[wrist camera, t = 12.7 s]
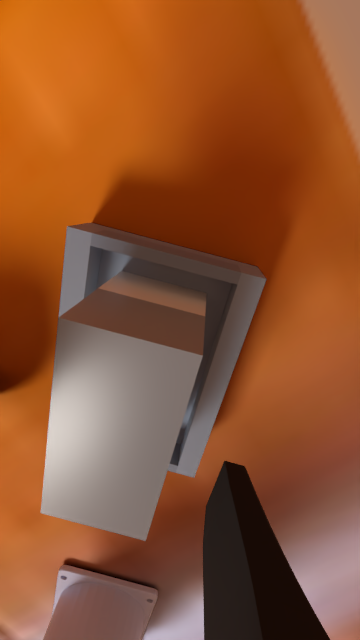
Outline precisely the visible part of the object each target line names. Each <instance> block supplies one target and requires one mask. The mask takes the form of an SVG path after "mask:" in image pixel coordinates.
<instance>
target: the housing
mask: <svg viewBox="0 0 360 640" xmlns="http://www.w3.org/2000/svg"><path fill="white" fill-rule="evenodd" d="M206 295H207V293H204V292H200V291H196V290H192V289H188V288H185V287H181V286H177V285H173V284H169V283H166V282H162V281H158V280H154V279H150V278H147V277H143V276H139V275H135V274H131V273H128V272H124V271H121V272H119V273H118V274H117V275H115V276H114V277H113V278H111V279H110V280H109V281H107V282H106V283H104V284H103V285H102V286H100V287H99V288H98V289H96V290H95V291H94V292H92V293H91V294H90V295H88V296H87V297H86V298H84V299H83V300H82V301H80V302H79V303H77V304H76V305H75V306H73V307H72V308H71V309H69V310H68V311H67V312H65V313H64V314H63V315H61V316H60V317H59V318H58V328H57V339H56V350H55V361H54V372H53V383H52V394H51V405H50V416H49V427H48V438H47V449H46V460H45V471H44V482H43V493H42V504H41V513H43V514H46V515H50V516H54V517H57V518H61V519H65V520H69V521H72V522H76V523H80V524H84V525H87V526H91V527H95V528H99V529H102V530H106V531H110V532H114V533H117V534H121V535H125V536H129V537H132V538H136V539H140V540H144V541H146V538H147V535H148V532H149V529H150V525H151V522H152V519H153V516H154V512H155V509H156V506H157V503H158V499H159V496H160V493H161V490H162V486H163V483H164V480H165V477H166V473H167V470H168V467H169V464H170V461H171V457H172V454H173V451H174V448H175V444H176V441H177V438H178V435H179V431H180V428H181V425H182V422H183V418H184V415H185V412H186V409H187V405H188V402H189V399H190V396H191V392H192V389H193V386H194V383H195V380H196V376H197V373H198V370H199V367H200V363H201V360H202V357H203V345H204V329H205V312H206Z"/></svg>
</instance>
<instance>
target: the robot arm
mask: <svg viewBox="0 0 360 640" xmlns="http://www.w3.org/2000/svg"><path fill="white" fill-rule="evenodd" d="M203 585H204V640H330V638H329V637H328V635H327V633H326V632H325V630H324V628H323V627H322V625H321V623H320V621H319V619H318V618H317V616H316V614H315V612H314V611H313V609H312V607H311V605H310V603H309V601H308V600H307V598H306V596H305V594H304V592H303V590H302V588H301V587H300V585H299V583H298V581H297V579H296V577H295V575H294V573H293V571H292V569H291V567H290V565H289V563H288V561H287V559H286V557H285V555H284V553H283V551H282V549H281V547H280V545H279V543H278V541H277V539H276V537H275V534H274V532H273V530H272V528H271V526H270V524H269V522H268V519H267V517H266V515H265V513H264V510H263V508H262V506H261V504H260V501H259V499H258V497H257V494H256V492H255V490H254V487H253V485H252V482H251V480H250V478H249V475H248V473H247V470H246V468H245V467H244V466H242V465H238V464H235V463H231V462H227V461H224V463H223V466H222V468H221V471H220V473H219V476H218V478H217V481H216V483H215V486H214V488H213V491H212V493H211V495H210V498H209V500H208V503H207V505H206V514H205V525H204V538H203ZM157 597H158V591H157V590H156V589H154V588H151V587H147V586H143V585H140V584H136V583H132V582H129V581H125V580H121V579H118V578H114V577H110V576H106V575H103V574H99V573H95V572H92V571H88V570H84V569H80V568H77V567H73V566H69V565H62V566H61V567H60V569H59V572H58V578H57V585H56V592H55V599H54V606H53V613H52V618H51V621H50V623H49V626H48V628H47V631H46V634H45V636H44V639H43V640H142V637H143V635H144V632H145V629H146V627H147V624H148V622H149V619H150V616H151V614H152V611H153V608H154V606H155V603H156V601H157Z"/></svg>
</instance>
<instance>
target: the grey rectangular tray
mask: <svg viewBox="0 0 360 640" xmlns="http://www.w3.org/2000/svg"><path fill="white" fill-rule="evenodd" d="M121 271H124V272H128V273H131V274H135V275H139V276H143V277H147V278H150V279H154V280H158V281H162V282H166V283H169V284H173V285H177V286H181V287H185V288H188V289H192V290H196V291H200V292H204V293H207V295H206V312H205V329H204V345H203V357H202V360H201V363H200V367H199V370H198V373H197V376H196V380H195V383H194V386H193V389H192V392H191V396H190V399H189V402H188V405H187V409H186V412H185V415H184V418H183V422H182V425H181V428H180V431H179V435H178V438H177V441H176V444H175V448H174V451H173V454H172V457H171V461H170V464H169V467H168V470H167V471H171V472H175V473H179V474H182V475H186V476H190V477H195V474H196V471H197V468H198V466H199V463H200V460H201V458H202V455H203V452H204V449H205V447H206V444H207V441H208V438H209V436H210V433H211V430H212V427H213V425H214V422H215V419H216V416H217V414H218V411H219V408H220V405H221V403H222V400H223V397H224V394H225V392H226V389H227V386H228V384H229V381H230V378H231V375H232V373H233V370H234V367H235V364H236V362H237V359H238V356H239V353H240V351H241V348H242V345H243V342H244V340H245V337H246V334H247V331H248V329H249V326H250V323H251V320H252V318H253V315H254V312H255V309H256V307H257V304H258V301H259V299H260V296H261V293H262V290H263V288H264V285H265V282H266V278H265V276H264V275H263V274H262V272H261V271H260V270H259V268H258V267H257V266H253V265H249V264H246V263H242V262H238V261H234V260H230V259H227V258H223V257H219V256H215V255H212V254H208V253H204V252H200V251H197V250H193V249H189V248H185V247H181V246H178V245H174V244H170V243H166V242H163V241H159V240H155V239H151V238H147V237H144V236H140V235H136V234H132V233H129V232H125V231H121V230H117V229H113V228H110V227H106V226H102V225H98V224H95V223H86V224H79V225H73V226H67V233H66V244H65V255H64V265H63V276H62V286H61V297H60V308H59V317H60V316H61V315H63V314H64V313H65V312H67V311H68V310H69V309H71V308H72V307H73V306H75V305H76V304H77V303H79V302H80V301H82V300H83V299H84V298H86V297H87V296H88V295H90V294H91V293H92V292H94V291H95V290H96V289H98V288H99V287H100V286H102V285H103V284H104V283H106V282H107V281H109V280H110V279H111V278H113V277H114V276H115V275H117V274H118V273H119V272H121ZM52 383H53V382H52ZM51 394H52V393H51ZM50 405H51V404H50ZM49 416H50V414H49ZM48 427H49V425H48ZM47 438H48V436H47Z"/></svg>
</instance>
